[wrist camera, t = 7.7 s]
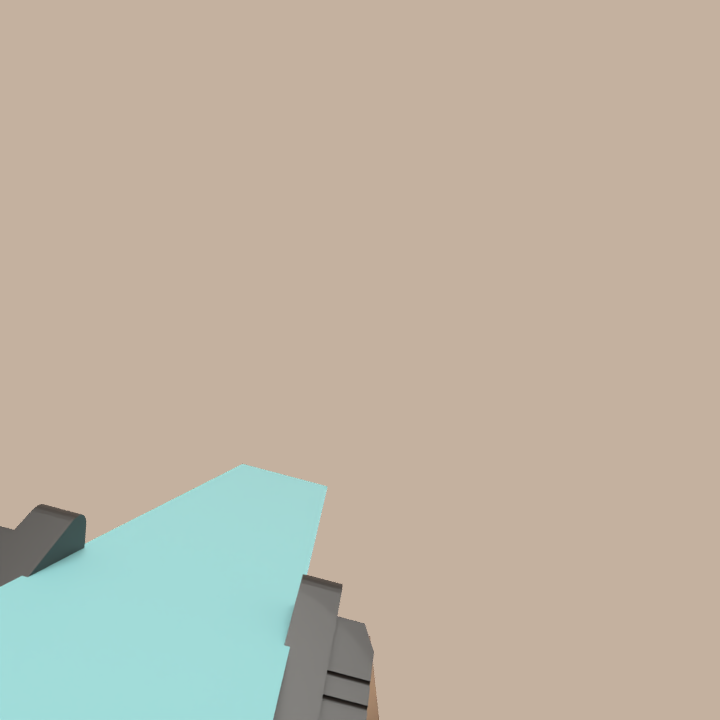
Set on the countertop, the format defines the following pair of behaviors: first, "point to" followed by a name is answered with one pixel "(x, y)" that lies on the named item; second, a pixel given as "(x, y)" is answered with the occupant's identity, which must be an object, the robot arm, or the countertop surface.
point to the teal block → (166, 609)
